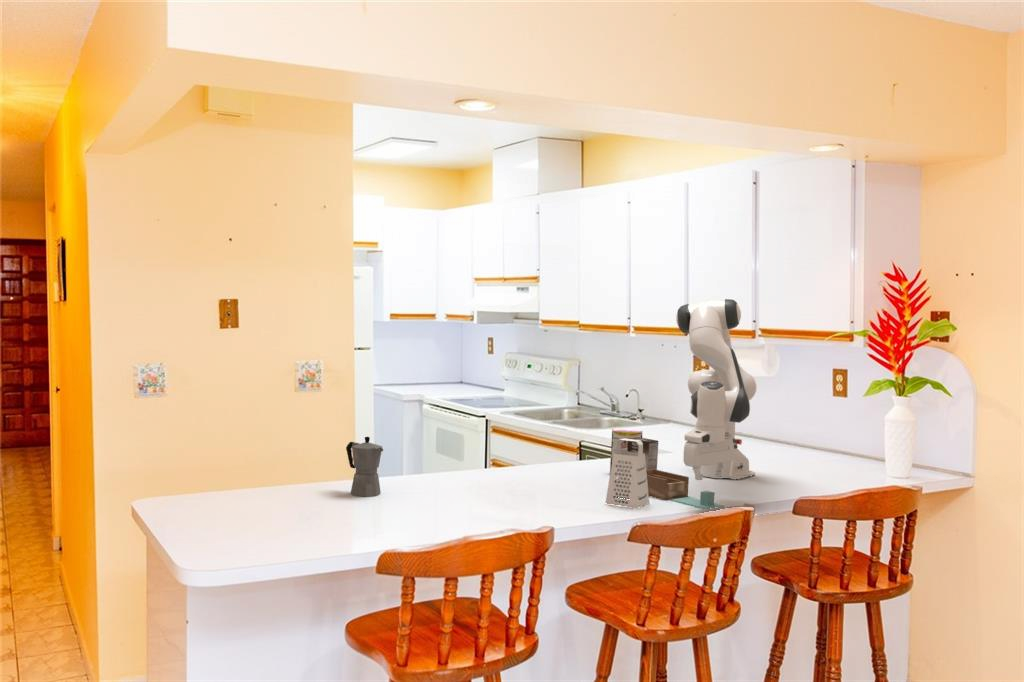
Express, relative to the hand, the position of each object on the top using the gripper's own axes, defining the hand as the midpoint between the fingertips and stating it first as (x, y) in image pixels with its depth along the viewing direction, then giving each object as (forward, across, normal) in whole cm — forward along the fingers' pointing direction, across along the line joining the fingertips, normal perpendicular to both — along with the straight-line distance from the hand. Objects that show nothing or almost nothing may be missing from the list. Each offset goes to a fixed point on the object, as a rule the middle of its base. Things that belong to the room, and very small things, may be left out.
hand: (708, 478), depth 283 cm
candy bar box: (+10, -14, -50) cm, 53 cm away
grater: (+9, +21, -15) cm, 27 cm away
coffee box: (+9, -4, -33) cm, 35 cm away
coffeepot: (+8, +85, -66) cm, 108 cm away
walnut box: (+9, +1, -20) cm, 22 cm away
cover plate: (+9, +1, -4) cm, 10 cm away
